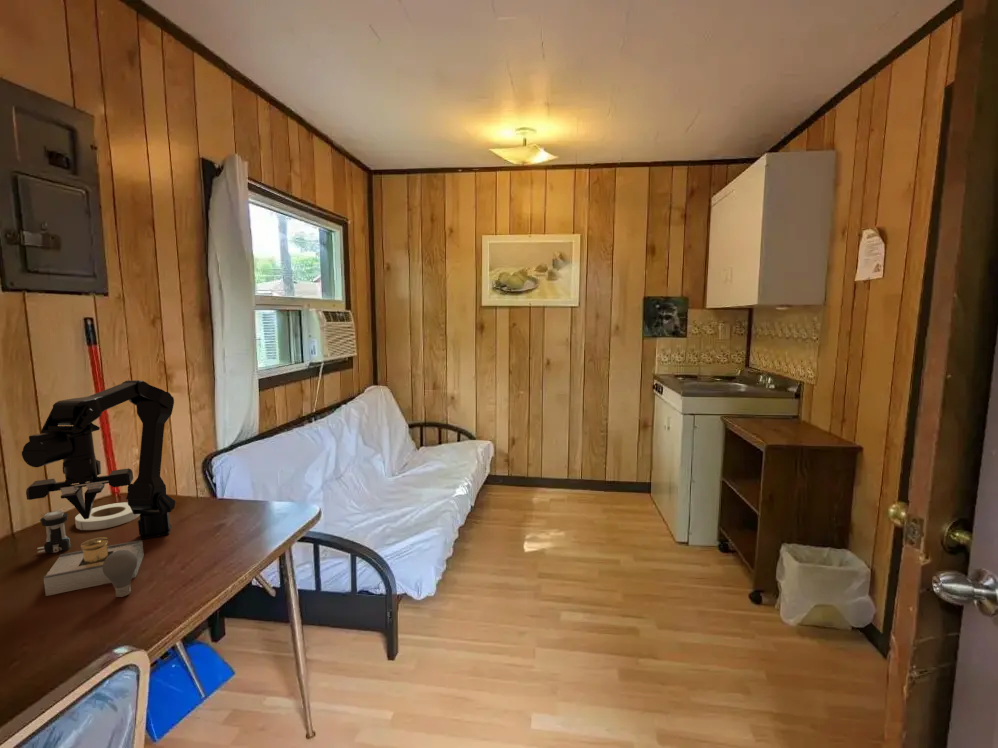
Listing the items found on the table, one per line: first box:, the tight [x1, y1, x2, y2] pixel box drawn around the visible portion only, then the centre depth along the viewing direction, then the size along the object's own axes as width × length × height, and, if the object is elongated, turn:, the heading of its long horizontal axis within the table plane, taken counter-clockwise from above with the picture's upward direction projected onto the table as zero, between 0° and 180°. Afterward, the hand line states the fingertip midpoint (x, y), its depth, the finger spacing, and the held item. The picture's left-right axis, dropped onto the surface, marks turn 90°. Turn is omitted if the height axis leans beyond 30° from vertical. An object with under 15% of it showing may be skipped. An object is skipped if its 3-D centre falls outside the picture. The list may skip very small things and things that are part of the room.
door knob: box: [80, 536, 109, 565], centre depth 119 cm, size 5×5×8 cm
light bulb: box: [102, 550, 137, 598], centre depth 110 cm, size 6×6×10 cm
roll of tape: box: [74, 501, 140, 531], centre depth 152 cm, size 16×15×3 cm
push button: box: [36, 510, 71, 554], centre depth 131 cm, size 7×5×10 cm
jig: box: [43, 539, 145, 597], centre depth 119 cm, size 16×12×4 cm
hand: (86, 518), depth 120 cm, fingers closed
